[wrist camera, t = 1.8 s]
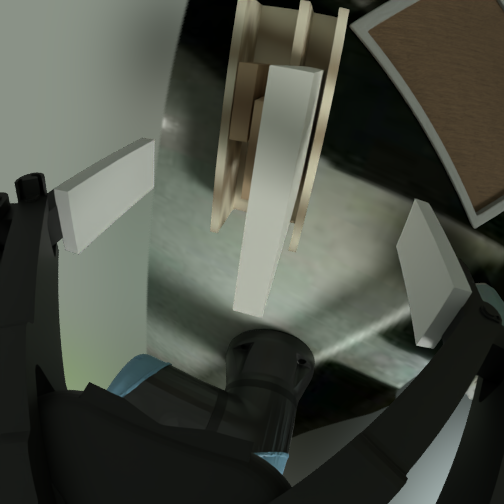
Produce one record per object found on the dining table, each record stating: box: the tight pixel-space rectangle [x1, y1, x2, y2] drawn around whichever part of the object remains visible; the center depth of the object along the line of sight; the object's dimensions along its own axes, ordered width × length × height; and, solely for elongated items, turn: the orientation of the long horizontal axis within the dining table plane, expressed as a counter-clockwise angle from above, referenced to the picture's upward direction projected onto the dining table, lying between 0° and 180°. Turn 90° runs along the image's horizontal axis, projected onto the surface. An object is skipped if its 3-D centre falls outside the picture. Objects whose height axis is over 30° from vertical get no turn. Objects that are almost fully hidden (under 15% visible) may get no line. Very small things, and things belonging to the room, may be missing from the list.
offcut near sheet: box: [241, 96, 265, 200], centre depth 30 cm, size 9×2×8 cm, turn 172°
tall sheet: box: [233, 65, 324, 318], centre depth 22 cm, size 12×2×22 cm, turn 172°
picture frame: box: [350, 0, 504, 228], centre depth 25 cm, size 19×2×30 cm
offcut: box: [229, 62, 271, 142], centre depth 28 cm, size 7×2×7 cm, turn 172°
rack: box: [210, 0, 349, 252], centre depth 30 cm, size 24×9×7 cm, turn 172°
